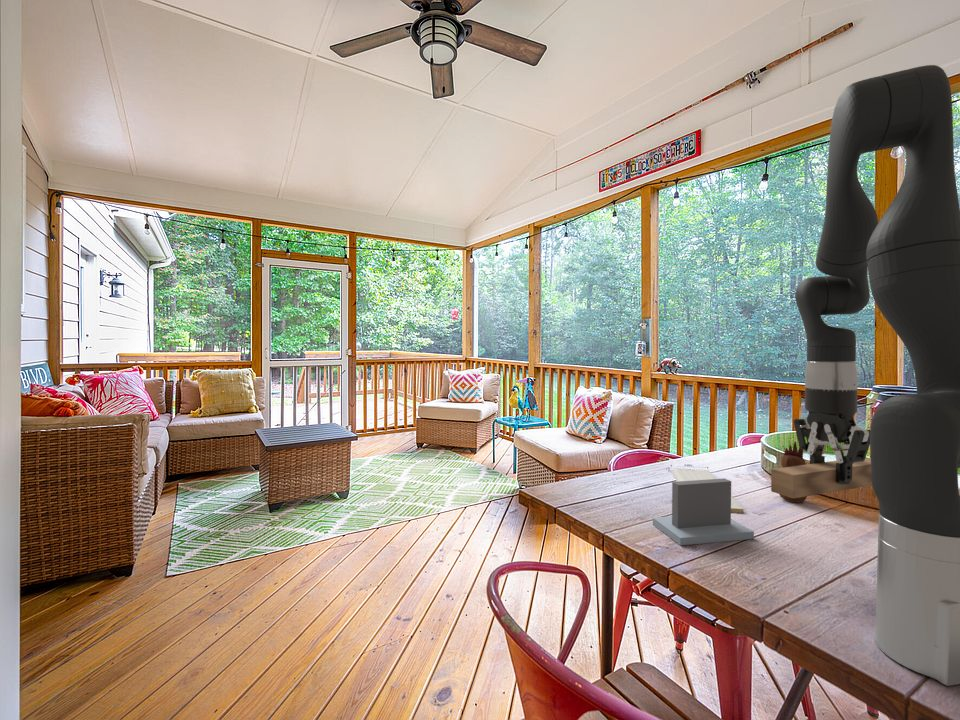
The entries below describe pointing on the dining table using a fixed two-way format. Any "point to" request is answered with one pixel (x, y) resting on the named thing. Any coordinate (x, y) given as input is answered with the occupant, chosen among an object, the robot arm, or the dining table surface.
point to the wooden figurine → (791, 460)
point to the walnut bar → (817, 479)
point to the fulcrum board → (703, 532)
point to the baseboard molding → (700, 475)
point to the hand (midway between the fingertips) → (829, 478)
